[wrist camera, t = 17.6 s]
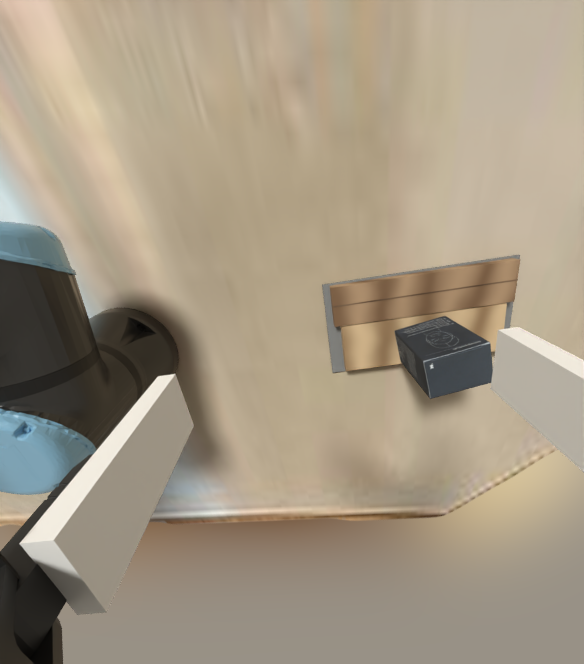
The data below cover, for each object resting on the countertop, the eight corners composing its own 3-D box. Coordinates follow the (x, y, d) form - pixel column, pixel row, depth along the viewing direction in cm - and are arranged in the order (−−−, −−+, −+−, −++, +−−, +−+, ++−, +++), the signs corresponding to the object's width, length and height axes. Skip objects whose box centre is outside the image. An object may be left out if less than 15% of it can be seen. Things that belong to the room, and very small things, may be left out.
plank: (344, 366, 47) (346, 371, 46) (339, 322, 44) (341, 325, 43) (495, 346, 46) (501, 350, 44) (500, 299, 43) (507, 302, 42)
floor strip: (333, 323, 45) (334, 327, 43) (329, 285, 42) (330, 288, 41) (506, 298, 43) (514, 301, 41) (512, 258, 41) (520, 259, 39)
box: (400, 361, 45) (429, 400, 35) (393, 329, 43) (422, 360, 33) (450, 347, 44) (496, 383, 34) (446, 314, 42) (492, 341, 32)
